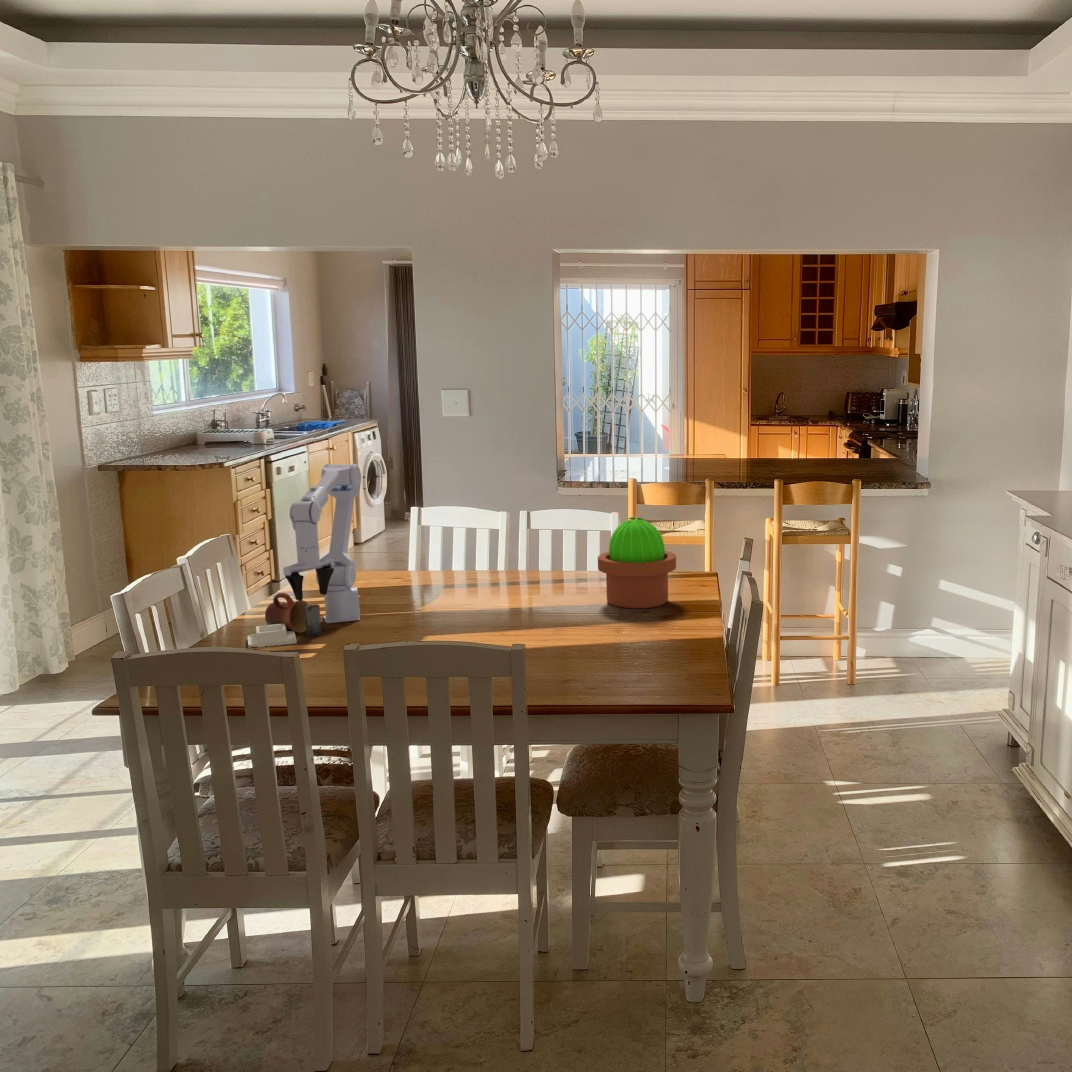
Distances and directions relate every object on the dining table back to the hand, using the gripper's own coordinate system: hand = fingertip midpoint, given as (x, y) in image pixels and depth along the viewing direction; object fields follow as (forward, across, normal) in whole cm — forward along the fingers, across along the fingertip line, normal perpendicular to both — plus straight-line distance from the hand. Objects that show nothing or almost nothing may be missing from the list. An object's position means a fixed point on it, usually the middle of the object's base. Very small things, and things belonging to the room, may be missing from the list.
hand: (311, 597), depth 264 cm
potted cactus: (+11, -78, +48) cm, 93 cm away
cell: (+10, 0, 0) cm, 10 cm away
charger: (+10, +10, -4) cm, 15 cm away
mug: (+5, +3, -16) cm, 17 cm away
